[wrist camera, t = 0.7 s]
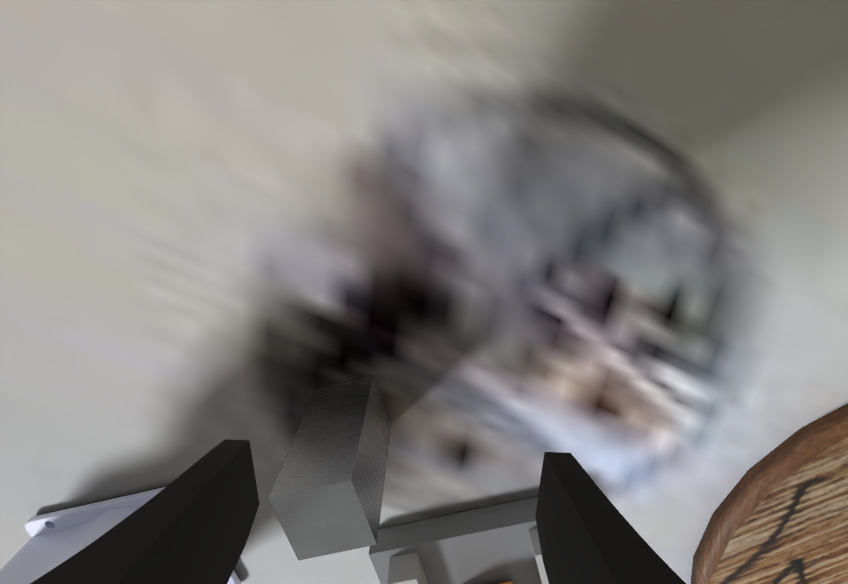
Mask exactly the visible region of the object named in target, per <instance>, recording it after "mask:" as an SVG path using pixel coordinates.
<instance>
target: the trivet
mask: <svg viewBox="0 0 848 584" xmlns="http://www.w3.org/2000/svg"><path fill="white" fill-rule="evenodd" d="M691 584H848V404H846V405H844V406H842V407H840V408H838V409H837V410H835V411H833V412H831V413H829V414H827V415H825V416H823V417H821V418H820V419H818V420H816V421H814V422H812V423H810V424H808V425H806V426H804V427H803V428H801V429H799V430H798V431H797V432H795V433H794V434H793V435H792V436H790V437H789V438H788V439H787V440H785V441H784V442H783V443H782V444H780V445H779V446H778V447H777V448H775V449H774V450H773V451H772V452H770V453H769V454H768V455H767V456H765V457H764V458H763V459H762V460H760V461H759V462H758V463H757V464H755V465H754V466H753V467H752V468H750V469H749V470H748V471H747V473H746V474H745V475H744V476H743V477H742V479H741V480H740V481H739V482H738V484H737V485H736V486H735V487H734V488H733V490H732V491H731V492H730V493H729V495H728V496H727V497H726V498H725V499H724V501H723V502H722V503H721V504H720V506H719V507H718V508H717V509H716V510H715V512H714V513H713V515H712V517H711V519H710V521H709V523H708V526H707V528H706V530H705V532H704V535H703V537H702V539H701V541H700V543H699V546H698V548H697V550H696V552H695V554H694V557H693V566H692V576H691Z"/></svg>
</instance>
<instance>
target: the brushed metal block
mask: <svg viewBox="0 0 848 584" xmlns="http://www.w3.org/2000/svg"><path fill="white" fill-rule="evenodd" d="M390 427H391V424H390V421H389V418H388V415H387V412H386V409H385V407H384V404H383V401H382V398H381V395H380V392H379V389H378V386H377V383H376V380H375V378H374V375H370V376H366V377H361V378H357V379H353V380H349V381H345V382H340V383H336V384H332V385H328V386H323V387H319V388H315V391H314V393H313V395H312V398H311V400H310V402H309V405H308V407H307V409H306V412H305V414H304V416H303V419H302V421H301V423H300V425H299V428H298V430H297V432H296V435H295V437H294V439H293V442H292V444H291V446H290V449H289V451H288V453H287V456H286V458H285V460H284V462H283V465H282V467H281V469H280V472H279V474H278V476H277V479H276V481H275V483H274V486H273V488H272V490H271V493H270V495H269V497H268V499H269V501H270V503H271V505H272V507H273V509H274V511H275V513H276V515H277V517H278V519H279V521H280V523H281V525H282V527H283V529H284V532H285V534H286V536H287V538H288V540H289V542H290V544H291V546H292V548H293V550H294V552H295V554H296V556H297V558H298V560H303V559H307V558H312V557H317V556H322V555H327V554H332V553H337V552H342V551H347V550H352V549H357V548H362V547H367V546H372V545H377V540H378V531H379V522H380V513H381V505H382V496H383V487H384V479H385V470H386V461H387V453H388V444H389V435H390Z"/></svg>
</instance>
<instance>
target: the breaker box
mask: <svg viewBox="0 0 848 584" xmlns="http://www.w3.org/2000/svg"><path fill="white" fill-rule="evenodd" d="M537 501H538V496H537V497H532V498H527V499H523V500H518V501H513V502H508V503H503V504H498V505H493V506H489V507H484V508H479V509H474V510H469V511H464V512H459V513H455V514H450V515H445V516H440V517H435V518H430V519H425V520H420V521H416V522H411V523H406V524H401V525H396V526H391V527H386V528H382V529H379V531H378V540H377V545H372V546H370V550H369V556H370V558H371V561H372V563H373V566H374V568H375V570H376V573H377V575H378V578H379V580H380V583H381V584H500V583H505V582H511V581H512V583H513V584H549V582H548V578H547V575H546V571H545V567H544V564H543V559H542V554H541V548H540V542H539V536H538V530H537V523H536V517H535V514H536V508H537Z"/></svg>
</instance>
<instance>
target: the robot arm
mask: <svg viewBox="0 0 848 584" xmlns="http://www.w3.org/2000/svg"><path fill="white" fill-rule="evenodd" d="M258 506H259V499H258V493H257V486H256V480H255V474H254V467H253V461H252V454H251V448H250V442H249V441H246V440H224V441H223V442H221V443H220V444H219V445H217V446H216V447H215V448H214V449H212V450H211V451H210V452H209V453H207V454H206V455H205V456H204V457H202V458H201V459H200V460H199V461H198V462H196V463H195V464H194V465H193V466H191V467H190V468H189V469H188V470H187V471H185V472H184V473H183V474H182V475H180V476H179V477H178V478H177V479H175V480H174V481H173V482H172V483H170V484H169V485H168V486H167V487H163V488H159V489H154V490H150V491H145V492H141V493H136V494H132V495H127V496H123V497H118V498H114V499H110V500H105V501H101V502H96V503H92V504H87V505H83V506H78V507H74V508H69V509H65V510H60V511H56V512H51V513H47V514H42V515H38V516H34V517H31V518H30V519H29V520H28V521H27V522H26V524H25V529H26V531H27V532H28V533H29V535H30V536H31V537H32V538H31V539H30V541H29V542H28V543H27V544H26V545H25V546H24V547H23V548H22V549H21V550H20V551H19V552H18V553H17V554H16V555H15V556H14V557H13V558H12V559H11V560H10V561H9V562H8V563H7V564H6V565H5V566H4V567H3V568H2V569H1V570H0V584H241V582H240V580H239V578H238V576H237V575H236V573H235V571H234V568H235V566H236V564H237V562H238V560H239V558H240V555H241V553H242V551H243V549H244V547H245V544H246V541H247V538H248V536H249V533H250V530H251V527H252V524H253V521H254V518H255V515H256V512H257V509H258ZM535 517H536V523H537V530H538V536H539V542H540V548H541V554H542V559H543V564H544V567H545V571H546V575H547V578H548V582H549V584H686V583H685V582H684V581H683V580H682V579H681V578H680V577H679V576H678V575H677V574H676V573H675V572H674V571H673V570H672V569H671V568H670V567H669V566H668V565H667V564H666V563H665V562H664V561H663V560H662V559H661V558H660V557H659V556H658V555H657V554H656V553H655V552H654V550H653V549H652V548H651V547H650V546H649V545H648V544H647V543H646V542H645V541H644V540H643V539H642V537H641V536H640V535H639V534H638V533H637V532H636V531H635V530H634V528H633V527H632V526H631V525H630V524H629V523H628V522H627V520H626V519H625V518H624V517H623V516H622V515H621V514H620V513H619V511H618V510H617V509H616V508H615V507H614V506H613V504H612V503H611V502H610V501H609V500H608V498H607V497H606V496H605V495H604V494H603V492H602V491H601V490H600V489H599V487H598V486H597V485H596V484H595V483H594V481H593V480H592V479H591V478H590V476H589V475H588V474H587V473H586V471H585V470H584V469H583V468H582V466H581V465H580V464H579V463H578V461H577V460H576V459H575V458H574V457H573V455H572V454H571V453H556V452H545V454H544V460H543V467H542V474H541V481H540V487H539V494H538V501H537V508H536V514H535Z"/></svg>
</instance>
